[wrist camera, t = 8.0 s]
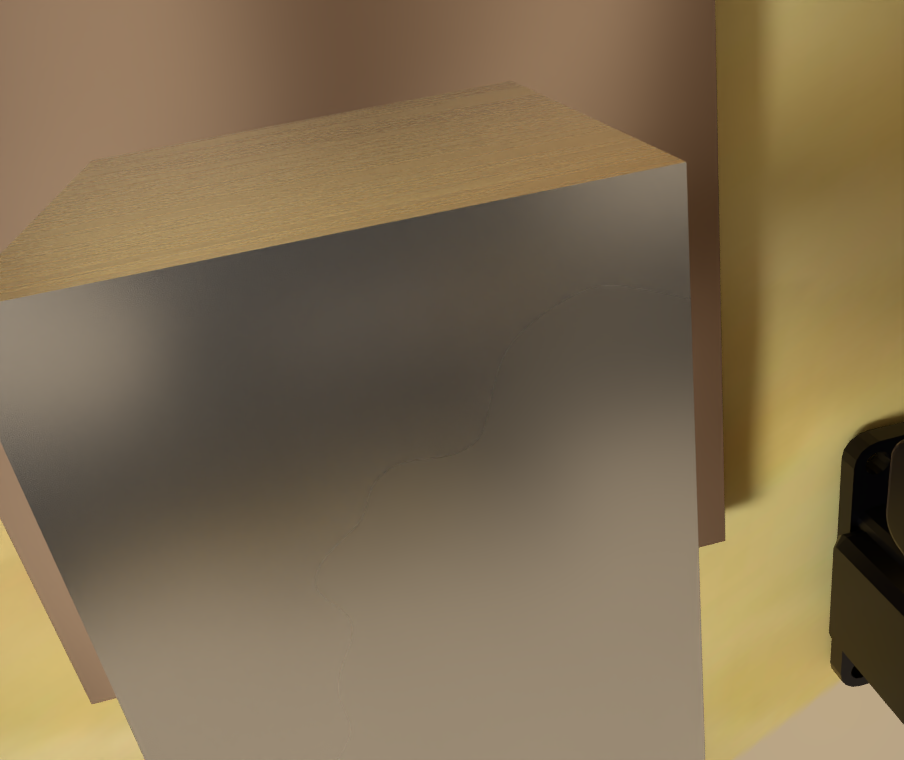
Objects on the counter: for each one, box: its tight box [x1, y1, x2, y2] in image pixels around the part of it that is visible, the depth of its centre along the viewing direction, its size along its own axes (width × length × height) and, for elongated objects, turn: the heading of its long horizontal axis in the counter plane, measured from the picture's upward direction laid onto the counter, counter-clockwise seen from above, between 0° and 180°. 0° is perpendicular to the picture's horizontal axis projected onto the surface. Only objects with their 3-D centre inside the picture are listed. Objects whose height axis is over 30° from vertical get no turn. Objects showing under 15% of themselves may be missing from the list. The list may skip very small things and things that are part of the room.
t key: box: [0, 81, 705, 760], centre depth 9 cm, size 8×5×9 cm, turn 9°
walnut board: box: [0, 0, 725, 704], centre depth 14 cm, size 12×12×1 cm
